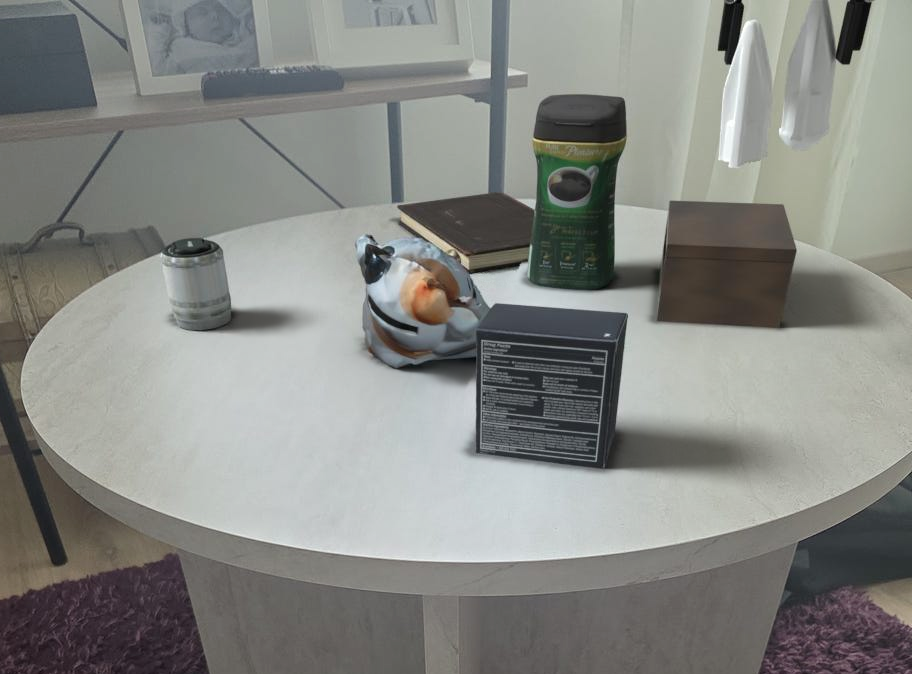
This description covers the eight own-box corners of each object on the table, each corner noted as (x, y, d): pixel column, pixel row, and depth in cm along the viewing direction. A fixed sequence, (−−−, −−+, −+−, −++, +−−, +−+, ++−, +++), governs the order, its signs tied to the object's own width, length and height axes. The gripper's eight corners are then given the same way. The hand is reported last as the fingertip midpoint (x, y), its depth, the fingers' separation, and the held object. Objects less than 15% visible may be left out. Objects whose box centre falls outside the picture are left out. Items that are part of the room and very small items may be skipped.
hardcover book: (466, 274, 107) (466, 253, 105) (397, 223, 123) (397, 205, 122) (586, 255, 111) (588, 235, 110) (504, 208, 128) (505, 191, 126)
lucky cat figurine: (528, 344, 90) (531, 234, 77) (447, 425, 87) (437, 325, 74) (416, 271, 94) (401, 156, 81) (336, 346, 92) (308, 239, 79)
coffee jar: (617, 274, 106) (637, 89, 94) (605, 297, 100) (625, 103, 88) (535, 267, 108) (545, 86, 96) (519, 289, 102) (527, 100, 90)
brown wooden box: (767, 280, 103) (783, 204, 98) (778, 333, 91) (797, 249, 86) (659, 274, 105) (669, 200, 100) (655, 326, 93) (667, 244, 88)
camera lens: (228, 306, 100) (215, 231, 95) (238, 326, 95) (226, 248, 90) (170, 315, 98) (154, 238, 93) (178, 335, 94) (162, 256, 89)
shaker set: (804, 140, 80) (835, -14, 73) (841, 148, 78) (878, -11, 70) (699, 160, 76) (722, -1, 69) (735, 169, 73) (762, 2, 66)
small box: (616, 437, 75) (632, 309, 68) (605, 475, 70) (620, 341, 63) (491, 422, 77) (494, 297, 71) (472, 458, 72) (473, 328, 66)
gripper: (967, -243, 63) (892, 55, 74) (707, -230, 66) (673, 55, 77) (997, -256, 57) (910, 69, 68) (711, -240, 60) (673, 69, 71)
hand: (785, 61), depth 73 cm, fingers closed on shaker set, 8 cm apart
